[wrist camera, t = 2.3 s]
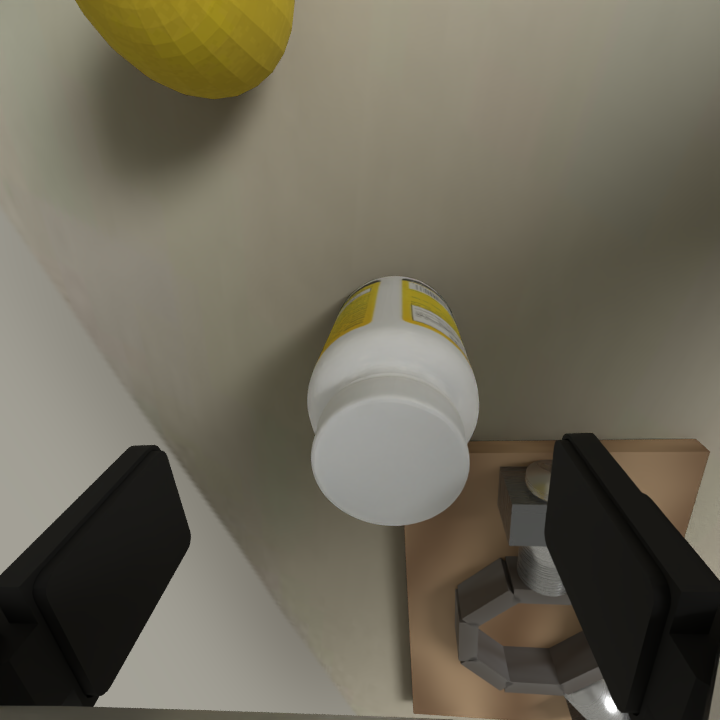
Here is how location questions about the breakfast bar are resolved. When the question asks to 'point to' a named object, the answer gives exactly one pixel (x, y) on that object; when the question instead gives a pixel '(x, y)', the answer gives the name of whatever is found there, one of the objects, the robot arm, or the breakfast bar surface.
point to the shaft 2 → (593, 704)
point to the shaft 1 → (529, 524)
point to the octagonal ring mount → (513, 590)
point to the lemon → (197, 40)
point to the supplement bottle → (392, 405)
